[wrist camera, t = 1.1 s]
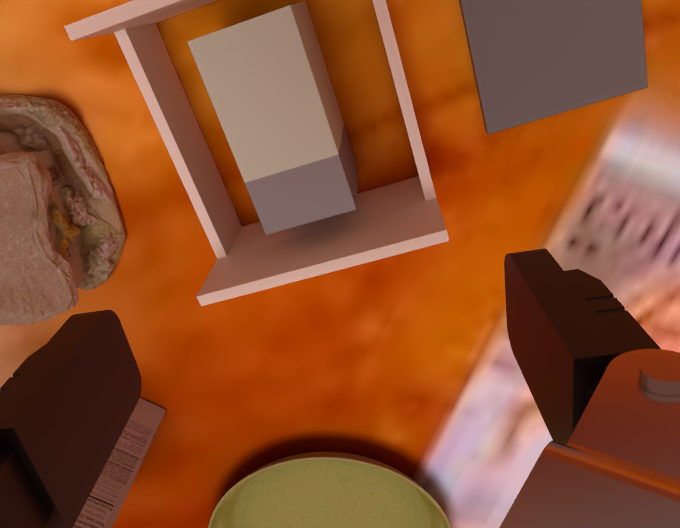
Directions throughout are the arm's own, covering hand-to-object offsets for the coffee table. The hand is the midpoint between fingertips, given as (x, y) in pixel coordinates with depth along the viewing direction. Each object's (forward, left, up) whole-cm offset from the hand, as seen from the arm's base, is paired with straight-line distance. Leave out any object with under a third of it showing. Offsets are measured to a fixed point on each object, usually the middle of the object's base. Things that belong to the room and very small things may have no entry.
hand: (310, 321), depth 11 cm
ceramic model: (+21, 0, -25) cm, 33 cm away
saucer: (+12, +34, -25) cm, 44 cm away
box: (+3, -1, -24) cm, 25 cm away
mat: (-12, -2, -24) cm, 27 cm away
